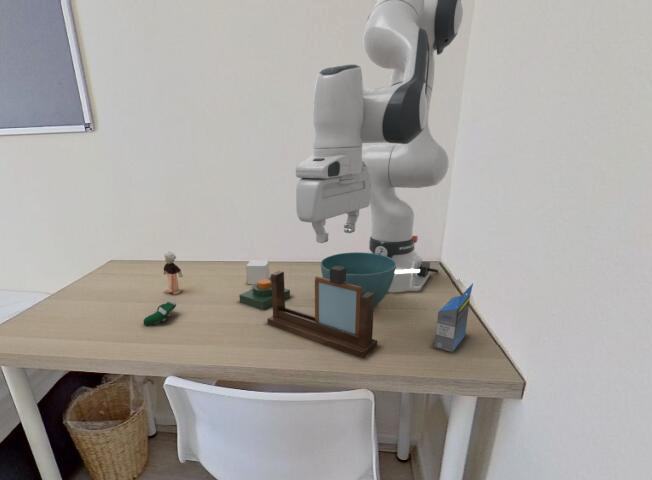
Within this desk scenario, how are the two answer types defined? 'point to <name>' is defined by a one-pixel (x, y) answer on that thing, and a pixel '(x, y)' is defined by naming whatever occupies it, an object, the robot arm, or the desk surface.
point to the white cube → (257, 271)
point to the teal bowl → (364, 271)
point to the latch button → (264, 284)
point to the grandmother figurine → (172, 273)
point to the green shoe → (160, 313)
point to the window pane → (337, 301)
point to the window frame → (321, 332)
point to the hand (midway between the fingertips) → (336, 237)
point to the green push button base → (259, 297)
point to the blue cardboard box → (452, 322)
